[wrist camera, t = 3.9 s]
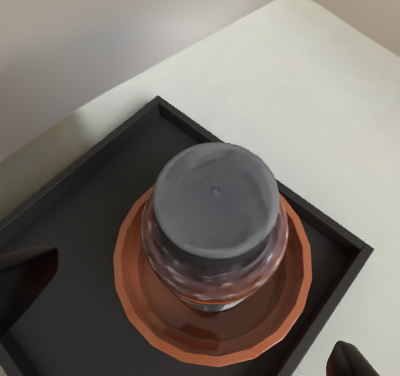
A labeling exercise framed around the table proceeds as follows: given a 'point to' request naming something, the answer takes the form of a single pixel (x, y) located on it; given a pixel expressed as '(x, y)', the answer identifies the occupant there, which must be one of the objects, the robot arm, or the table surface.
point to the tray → (104, 266)
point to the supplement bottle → (214, 225)
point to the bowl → (214, 321)
